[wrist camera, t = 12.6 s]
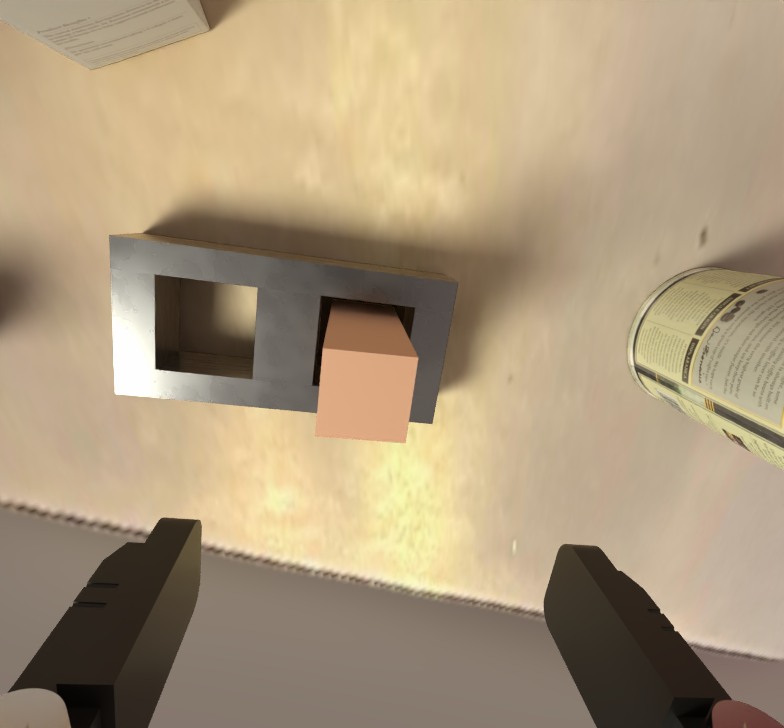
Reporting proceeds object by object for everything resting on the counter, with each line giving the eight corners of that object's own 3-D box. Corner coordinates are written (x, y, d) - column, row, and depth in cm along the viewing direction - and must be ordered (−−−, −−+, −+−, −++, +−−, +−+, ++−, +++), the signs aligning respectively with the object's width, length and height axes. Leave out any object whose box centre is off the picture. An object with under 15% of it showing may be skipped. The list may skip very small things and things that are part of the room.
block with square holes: (144, 371, 30) (114, 393, 27) (142, 233, 28) (109, 235, 24) (422, 400, 33) (432, 424, 29) (444, 274, 30) (458, 282, 26)
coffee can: (783, 277, 32) (1087, 318, 19) (728, 410, 35) (959, 526, 22) (652, 253, 31) (881, 279, 18) (606, 393, 34) (773, 506, 21)
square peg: (327, 357, 31) (315, 436, 20) (332, 299, 30) (322, 348, 19) (385, 362, 32) (405, 443, 20) (392, 306, 31) (418, 357, 19)
